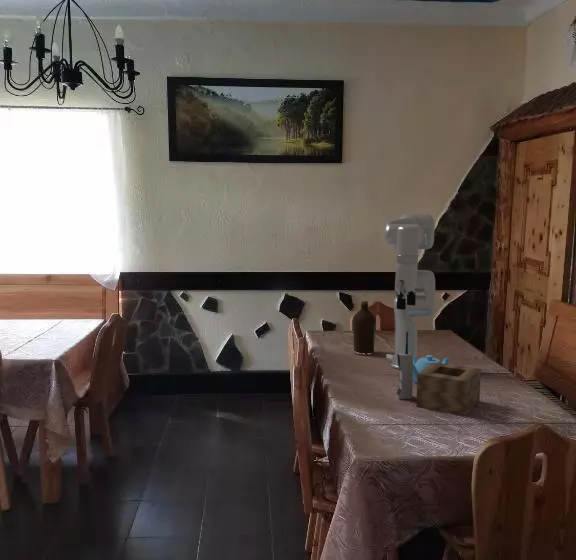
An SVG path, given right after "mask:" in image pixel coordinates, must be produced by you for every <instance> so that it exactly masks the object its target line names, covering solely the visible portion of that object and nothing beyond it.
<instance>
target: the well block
mask: <svg viewBox="0 0 576 560" xmlns="http://www.w3.org/2000/svg"><path fill="white" fill-rule="evenodd" d="M481 373H482V369H481V368H476V367H470V366H462V365H456V364H449V363H448V364H442V362H441V363H435V362H433V363H432V364H430V365H429V366H428V367H426V368H425V369H423V370H422V371H421V372H419V373H418V374H417V383H416V406H417V408H423V409H428V410H433V411H438V412H442V413H449V414H455V415H460V416H464V417H466V416H467V415H468V414H469V413H471V411H472V410H473V409H474V408H475V407H476V405H478V403H479V402H480V397H481V377H482V376H481V375H482V374H481Z"/></svg>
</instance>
